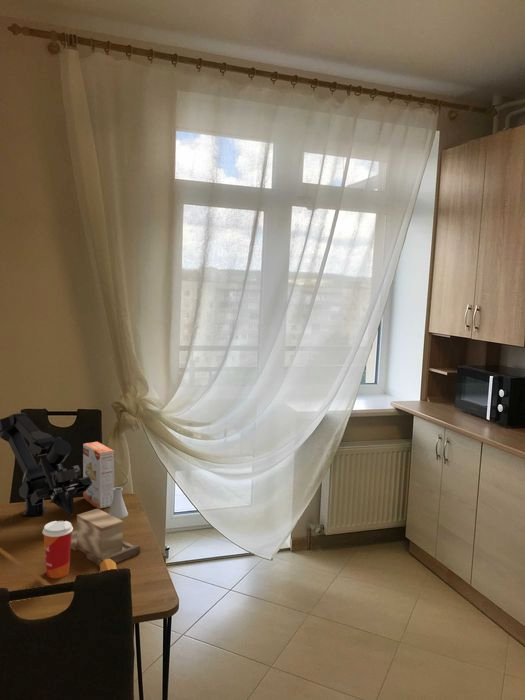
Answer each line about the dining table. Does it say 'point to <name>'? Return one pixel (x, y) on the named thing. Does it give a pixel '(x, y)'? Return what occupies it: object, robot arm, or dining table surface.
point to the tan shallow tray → (117, 557)
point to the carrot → (107, 565)
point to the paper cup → (57, 548)
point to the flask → (118, 504)
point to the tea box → (99, 533)
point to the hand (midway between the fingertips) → (71, 514)
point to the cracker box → (99, 474)
